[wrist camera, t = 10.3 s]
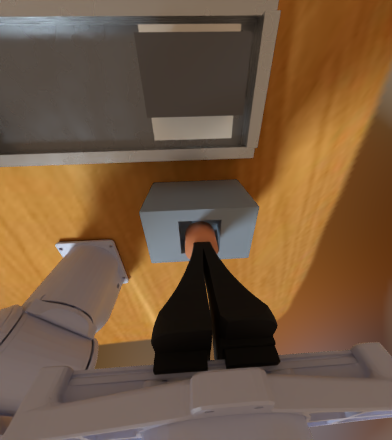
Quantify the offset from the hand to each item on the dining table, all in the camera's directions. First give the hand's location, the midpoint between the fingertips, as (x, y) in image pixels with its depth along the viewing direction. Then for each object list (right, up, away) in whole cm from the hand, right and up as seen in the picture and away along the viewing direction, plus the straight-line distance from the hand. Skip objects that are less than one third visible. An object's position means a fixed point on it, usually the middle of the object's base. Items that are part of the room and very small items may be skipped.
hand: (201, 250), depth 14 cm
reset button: (0, +1, +2) cm, 2 cm away
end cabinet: (-1, +5, +7) cm, 9 cm away
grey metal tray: (-8, +14, +1) cm, 16 cm away
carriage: (-1, +13, 0) cm, 13 cm away
